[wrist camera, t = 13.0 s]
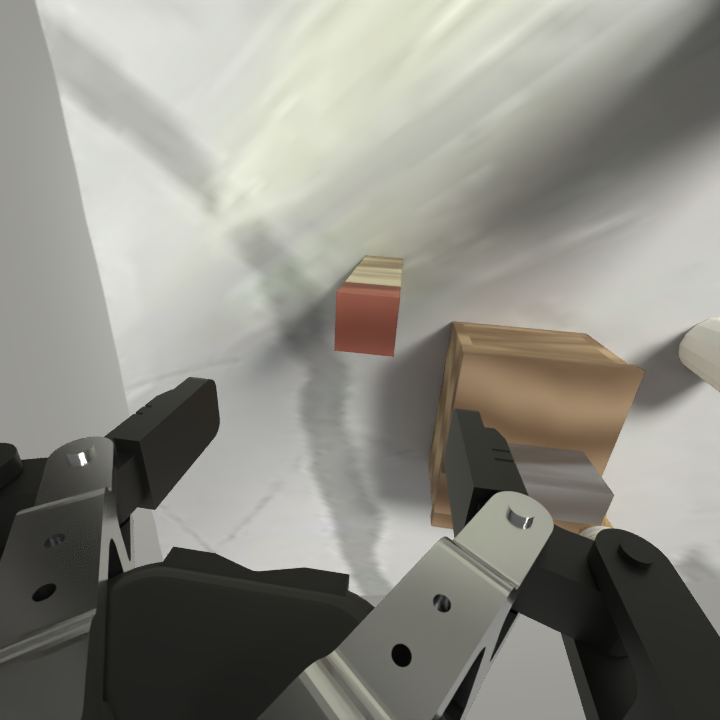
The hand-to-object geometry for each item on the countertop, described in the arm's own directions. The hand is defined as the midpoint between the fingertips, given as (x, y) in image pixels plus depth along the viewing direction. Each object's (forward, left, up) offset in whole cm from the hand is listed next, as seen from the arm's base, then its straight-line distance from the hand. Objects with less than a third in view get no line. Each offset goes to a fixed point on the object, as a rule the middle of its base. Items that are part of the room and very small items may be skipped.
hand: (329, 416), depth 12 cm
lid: (+13, +14, -18) cm, 26 cm away
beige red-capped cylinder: (0, 0, -26) cm, 26 cm away
